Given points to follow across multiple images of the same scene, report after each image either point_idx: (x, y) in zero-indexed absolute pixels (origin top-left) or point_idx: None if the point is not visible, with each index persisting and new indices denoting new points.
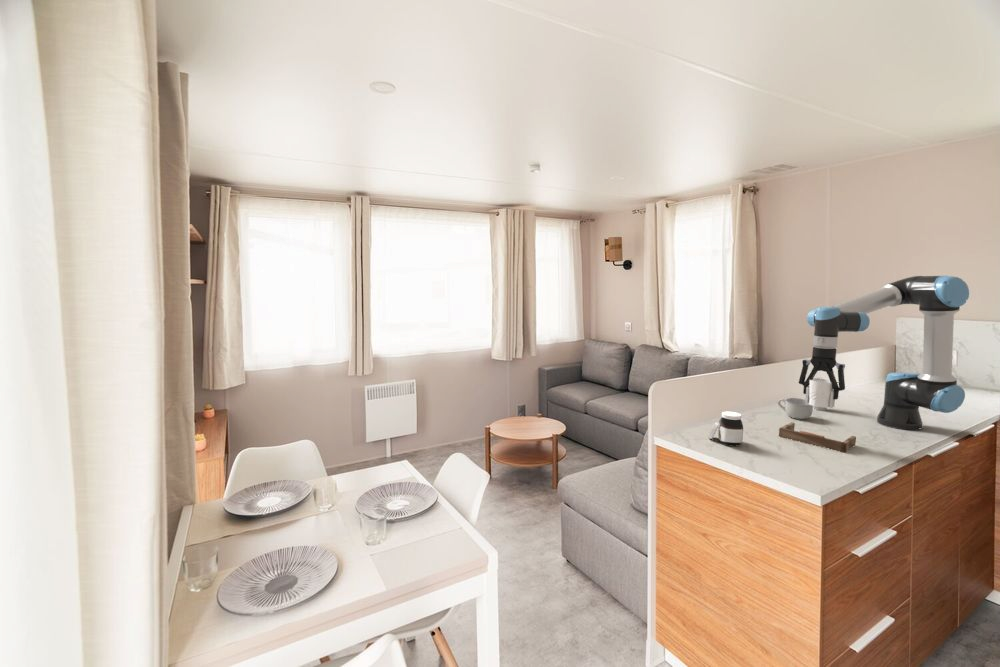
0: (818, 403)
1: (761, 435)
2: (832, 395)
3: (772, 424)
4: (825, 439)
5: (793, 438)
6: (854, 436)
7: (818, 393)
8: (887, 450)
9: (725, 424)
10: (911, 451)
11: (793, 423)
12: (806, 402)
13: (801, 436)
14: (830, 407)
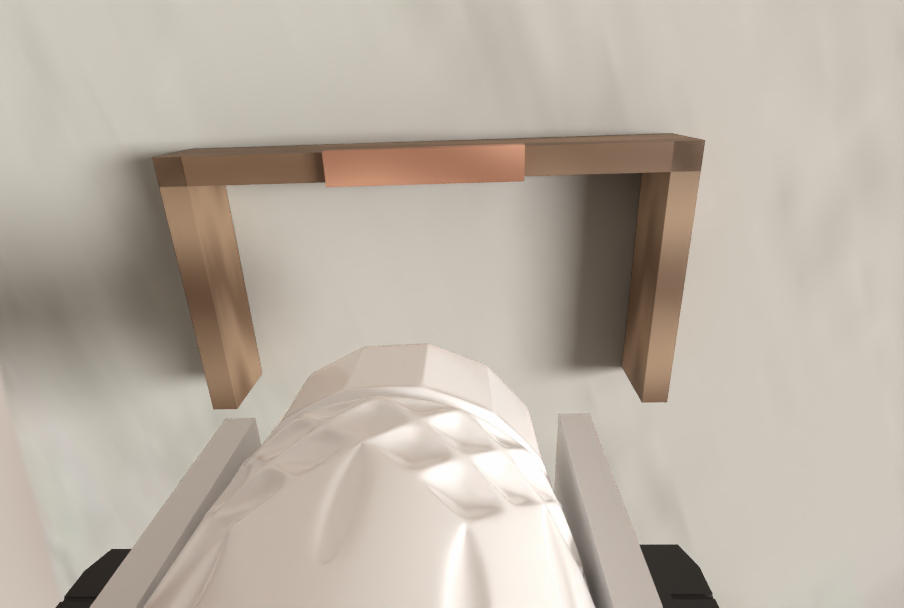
0: (361, 370)
1: (800, 29)
2: (107, 592)
3: (786, 403)
4: (306, 151)
5: (558, 138)
6: (220, 403)
7: (322, 495)
8: (100, 423)
9: None
10: (37, 500)
11: (646, 383)
12: (572, 419)
13: (500, 143)
14: (240, 420)
